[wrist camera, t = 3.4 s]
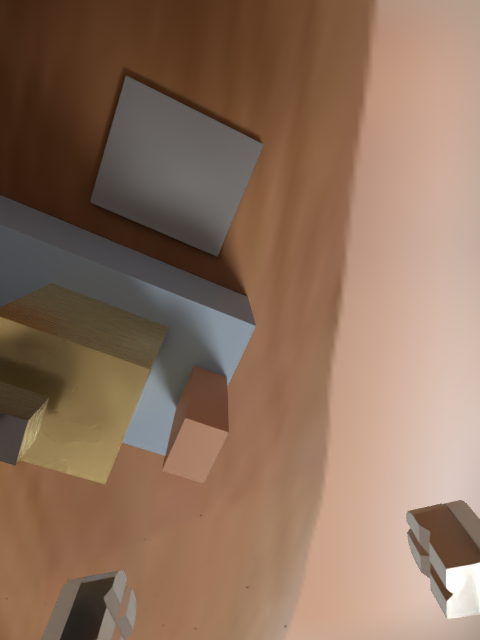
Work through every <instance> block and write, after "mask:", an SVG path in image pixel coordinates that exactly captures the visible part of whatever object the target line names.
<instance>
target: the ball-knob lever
mask: <svg viewBox="0 0 480 640" xmlns="http://www.w3.org/2000/svg"><path fill="white" fill-rule="evenodd" d="M48 400H49V397H47V396H44V395H41V394H38V393H35V392H32V391H29V390H25V389H22V388H19V387H16V386H13V385H10V384H7V383H3V382H0V461H2V462H6V463H9V464H13V465H16V464H17V463H18V461H19V460H20V459H21V458H22V456H23V455H24V454H25V453H26V451H27V450H28V449H29V448H30V446H31V445H32V444H33V443H34V441H35V440H36V439H37V437H38V434H39V430H40V427H41V424H42V420H43V417H44V414H45V410H46V407H47V404H48Z"/></svg>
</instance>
